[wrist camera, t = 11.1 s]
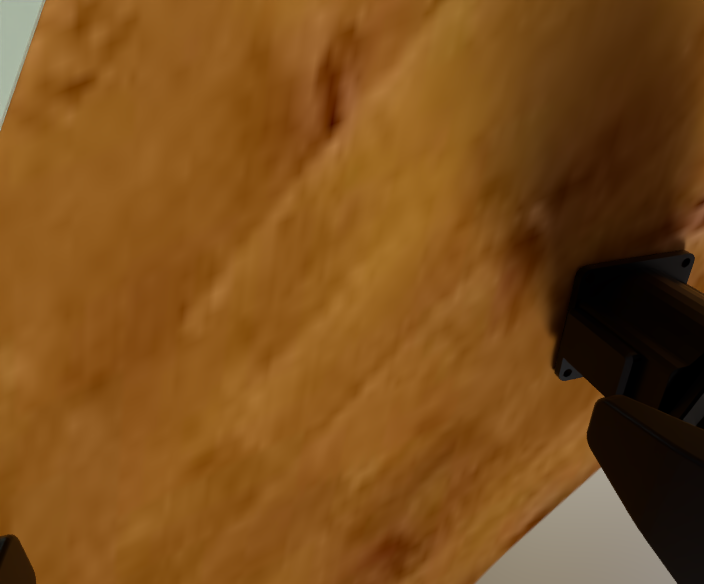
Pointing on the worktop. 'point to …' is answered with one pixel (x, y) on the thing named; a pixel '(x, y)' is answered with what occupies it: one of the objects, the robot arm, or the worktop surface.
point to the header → (15, 43)
